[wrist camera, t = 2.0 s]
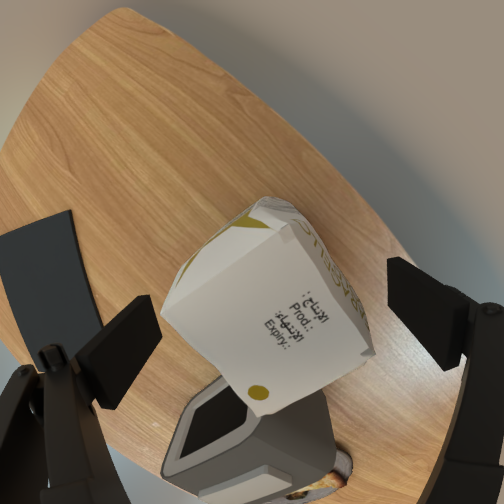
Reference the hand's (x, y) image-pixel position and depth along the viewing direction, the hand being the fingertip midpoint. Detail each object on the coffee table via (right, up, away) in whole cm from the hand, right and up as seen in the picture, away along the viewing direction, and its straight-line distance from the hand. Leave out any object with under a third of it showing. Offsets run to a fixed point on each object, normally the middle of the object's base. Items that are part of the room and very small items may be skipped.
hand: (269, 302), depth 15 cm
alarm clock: (0, -16, +19) cm, 25 cm away
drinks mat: (-31, -5, +18) cm, 36 cm away
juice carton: (+1, +4, +14) cm, 15 cm away
